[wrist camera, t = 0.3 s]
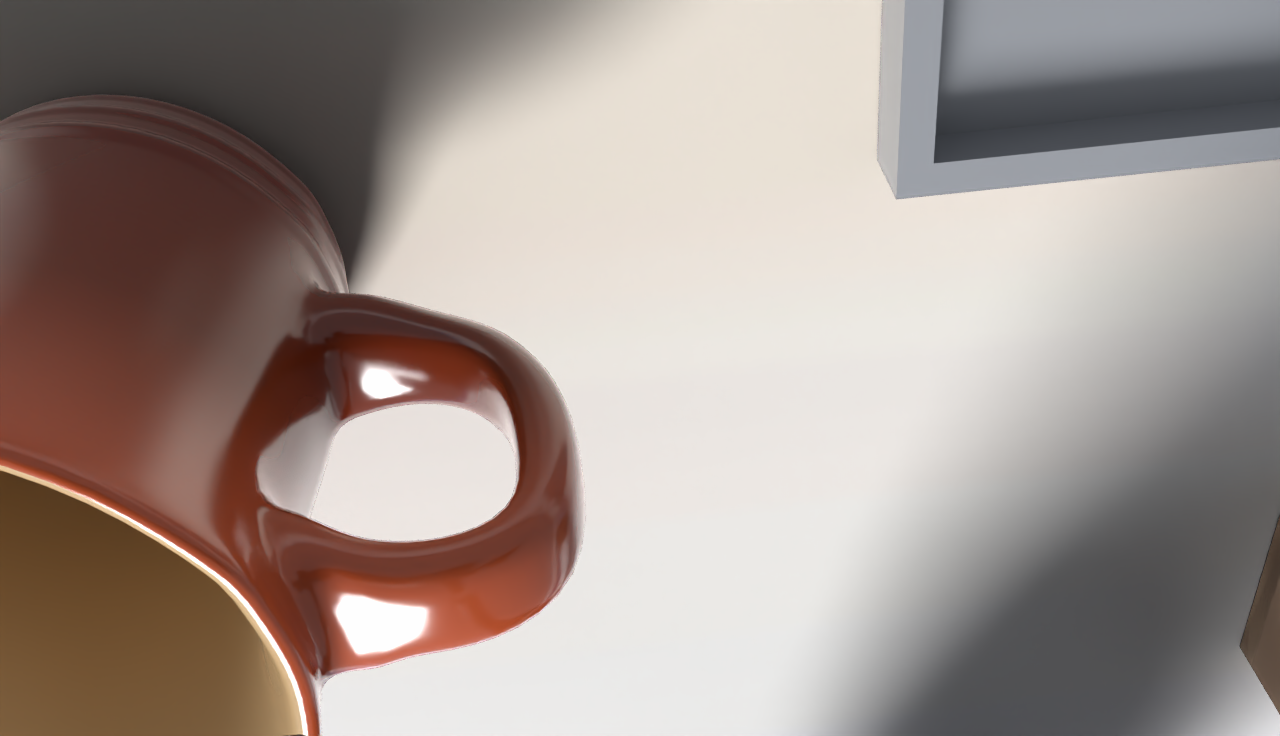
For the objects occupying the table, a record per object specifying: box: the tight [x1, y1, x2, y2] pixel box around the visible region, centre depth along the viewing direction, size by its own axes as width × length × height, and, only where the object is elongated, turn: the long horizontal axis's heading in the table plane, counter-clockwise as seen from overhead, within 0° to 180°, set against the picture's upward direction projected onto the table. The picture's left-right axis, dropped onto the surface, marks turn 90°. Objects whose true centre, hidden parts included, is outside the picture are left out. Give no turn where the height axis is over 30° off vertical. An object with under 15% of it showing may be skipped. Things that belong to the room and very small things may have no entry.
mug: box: [0, 95, 586, 736], centre depth 18 cm, size 12×9×10 cm
